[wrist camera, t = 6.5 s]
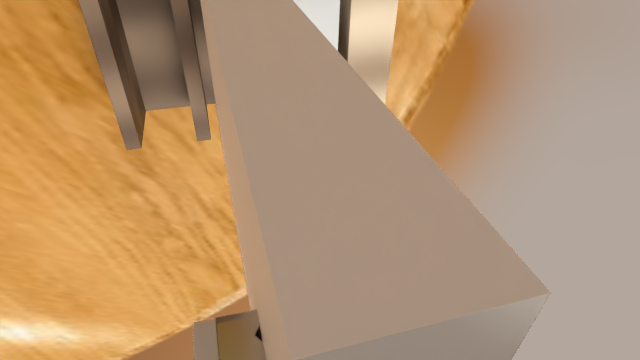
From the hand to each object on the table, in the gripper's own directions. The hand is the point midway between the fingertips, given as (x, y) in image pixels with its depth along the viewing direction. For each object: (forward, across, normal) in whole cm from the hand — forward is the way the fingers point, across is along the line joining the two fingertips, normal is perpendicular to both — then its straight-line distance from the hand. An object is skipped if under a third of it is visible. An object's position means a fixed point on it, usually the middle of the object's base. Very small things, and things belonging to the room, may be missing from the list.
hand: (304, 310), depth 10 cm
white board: (+18, 0, 0) cm, 18 cm away
